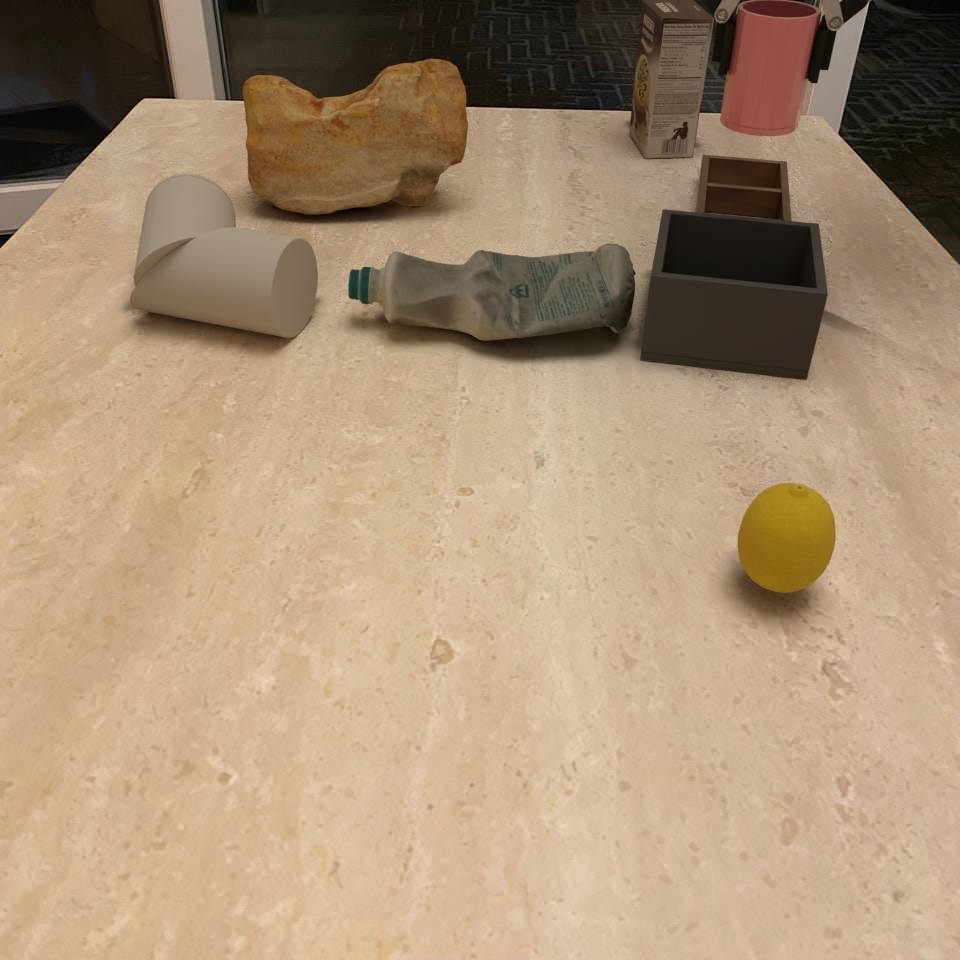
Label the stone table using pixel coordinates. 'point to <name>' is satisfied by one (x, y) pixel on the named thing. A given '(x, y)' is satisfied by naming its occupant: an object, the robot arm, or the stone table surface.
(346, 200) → the tan saddle-shaped rock
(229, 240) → the l-shaped cylinder
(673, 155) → the coffee box
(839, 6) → the robot arm
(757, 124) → the pink cup
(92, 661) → the stone table surface
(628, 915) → the stone table surface
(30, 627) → the stone table surface
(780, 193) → the brown compartment tray
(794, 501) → the lemon
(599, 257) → the detergent
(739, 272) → the dark gray open box
